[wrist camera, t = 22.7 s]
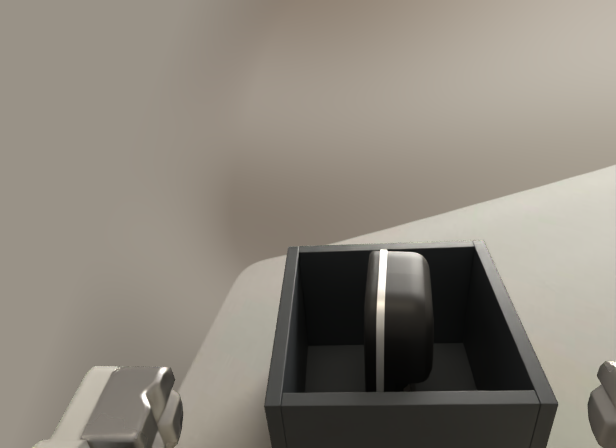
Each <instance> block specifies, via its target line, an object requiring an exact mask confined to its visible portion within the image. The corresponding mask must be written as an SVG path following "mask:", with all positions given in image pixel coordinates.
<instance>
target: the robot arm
mask: <svg viewBox="0 0 616 448" xmlns="http://www.w3.org/2000/svg"><path fill="white" fill-rule="evenodd" d="M597 377H598V379H599V380H600V382H601V385H600V386H599V387H597V388H596V389H595V390H593V391H592V392H591V394H590V398H589V402H588V417H589V422H590V425H591V429H592V432H593V434H594V436H595V438H596V440H597V442H598V444H599V445H600V446H602V447H603V448H616V361H605V362H604V363H603V364H602V365H601V366H600V368H599V371H598V374H597ZM174 381H175V378H174V375H173V372H172V370H171V368H168V367H129V366H118V367H100V366H96V367H95V366H94V367H93V368H92V369H90V370H89V371H88V372H87V373H86V375H85V377H84V379H83V380H82V382H81V384H80V386H79V388H78V389H77V391H76V393H75V395H74V397H73V399H72V400H71V402H70V404H69V406H68V408H67V409H66V411H65V413H64V415H63V416H62V418H61V420H60V422H59V424H58V426H57V428H56V429H55V431H54V433H53V435H52V436H51V438H50V440H41V441H40V442H39V443H37V444H36V445H35V446H33V447H32V448H174V447H175V446H176V445H177V444H178V441H179V437H180V434H181V430H182V421H183V407H182V401H181V398H180V395H179V394H178V393H177V392H175V391H174V390H173V389H172V387H173V384H174Z"/></svg>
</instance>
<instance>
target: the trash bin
mask: <svg viewBox="0 0 616 448" xmlns="http://www.w3.org/2000/svg"><path fill="white" fill-rule="evenodd" d="M381 249H384V250H387V251H404V252H415V253H418V254H420V255H422V256H423V257H424V258H425V259H426V260H427V263H428V265H429V269H430V279H431V292H432V305H433V317H434V344H433V366H432V371H431V372H430V374H429V378H428V379H427V380H426V381H425V382H421V383H415V387H416V392H365V366H364V303H365V291H366V281H367V271H368V261H369V255H370V253H371V252H372V251H380V250H381ZM264 407H265V412H266V418H267V423H268V429H269V434H270V440H271V445H272V448H546V446H547V442H548V439H549V435H550V432H551V428H552V425H553V421H554V418H555V414H556V411H557V407H558V402H557V400H556V398H555V395H554V393H553V391H552V389H551V387H550V384H549V382H548V380H547V378H546V376H545V373H544V371H543V369H542V367H541V365H540V362H539V360H538V358H537V356H536V354H535V352H534V349H533V347H532V345H531V343H530V341H529V338H528V336H527V334H526V332H525V330H524V327H523V325H522V323H521V321H520V319H519V316H518V314H517V312H516V310H515V308H514V306H513V303H512V301H511V299H510V297H509V295H508V292H507V290H506V288H505V286H504V284H503V281H502V279H501V277H500V275H499V273H498V270H497V268H496V266H495V264H494V262H493V259H492V257H491V255H490V253H489V251H488V249H487V246H486V244H485V242H484V240H473V241H472V240H469V241H440V242H411V243H381V244H352V245H323V246H299V247H288V252H287V258H286V265H285V271H284V278H283V285H282V291H281V298H280V305H279V311H278V318H277V325H276V331H275V338H274V345H273V351H272V358H271V365H270V371H269V378H268V385H267V391H266V398H265V405H264Z"/></svg>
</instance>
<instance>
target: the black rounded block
mask: <svg viewBox="0 0 616 448" xmlns="http://www.w3.org/2000/svg"><path fill="white" fill-rule="evenodd" d="M433 344H434V317H433V305H432V292H431V279H430V269H429V265H428V263H427V260H426V259H425V258H424V257H423V256H422V255H420V254H418V253H415V252H404V251H387V250H384V249H381V250H380V251H372V252H371V253H370V255H369V261H368V271H367V281H366V291H365V303H364V366H365V392H416V387H415V383H421V382H425V381H426V380H427V379H428V378H429V374H430V372H431V371H432V366H433Z"/></svg>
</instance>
